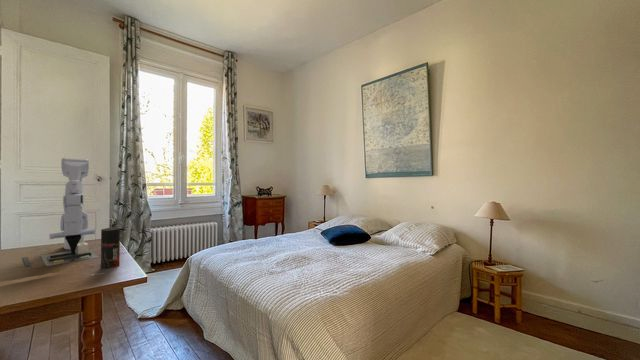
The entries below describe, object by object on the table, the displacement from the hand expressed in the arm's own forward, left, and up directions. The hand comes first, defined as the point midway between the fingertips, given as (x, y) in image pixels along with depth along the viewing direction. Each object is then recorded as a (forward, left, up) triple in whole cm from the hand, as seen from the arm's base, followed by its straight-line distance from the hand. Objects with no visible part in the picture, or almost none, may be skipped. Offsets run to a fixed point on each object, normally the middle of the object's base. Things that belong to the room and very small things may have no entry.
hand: (73, 252), depth 118 cm
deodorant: (+23, +8, -3) cm, 24 cm away
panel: (0, -1, -2) cm, 3 cm away
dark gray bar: (-2, -14, -2) cm, 14 cm away
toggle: (0, +3, -1) cm, 3 cm away
